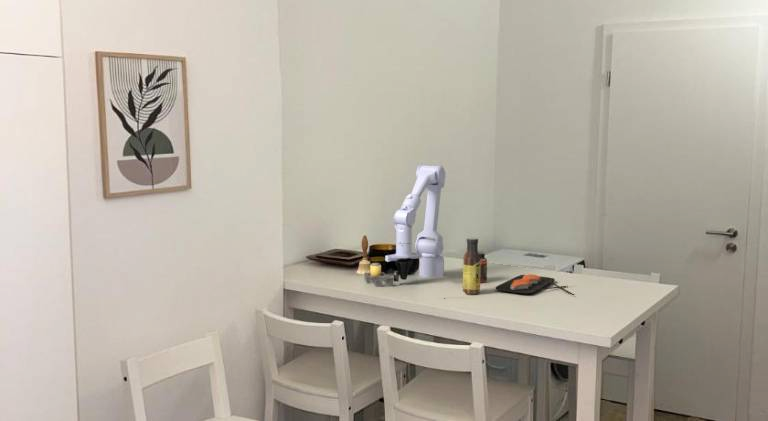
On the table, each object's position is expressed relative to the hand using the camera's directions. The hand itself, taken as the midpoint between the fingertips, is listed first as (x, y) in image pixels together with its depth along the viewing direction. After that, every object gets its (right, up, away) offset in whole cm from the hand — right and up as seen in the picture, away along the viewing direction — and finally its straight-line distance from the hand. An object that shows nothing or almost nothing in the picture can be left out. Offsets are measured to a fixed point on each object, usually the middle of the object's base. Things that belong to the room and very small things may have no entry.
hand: (403, 279), depth 277 cm
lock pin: (-6, -2, -1) cm, 6 cm away
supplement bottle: (+29, -2, +12) cm, 32 cm away
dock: (-6, -3, +5) cm, 8 cm away
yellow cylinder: (-10, -1, +6) cm, 12 cm away
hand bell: (-15, -1, +22) cm, 26 cm away
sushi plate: (+53, -5, +1) cm, 53 cm away
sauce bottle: (+24, -5, -6) cm, 25 cm away
